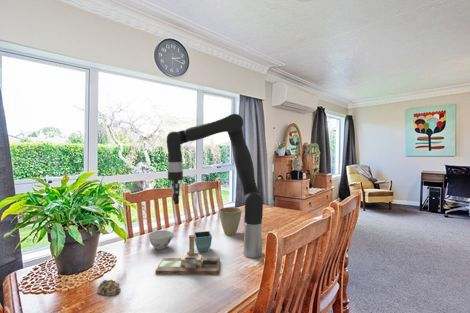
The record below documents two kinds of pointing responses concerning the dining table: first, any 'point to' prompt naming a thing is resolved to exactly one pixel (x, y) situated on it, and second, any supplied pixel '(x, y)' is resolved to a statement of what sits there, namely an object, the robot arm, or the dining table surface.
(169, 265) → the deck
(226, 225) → the plant pot
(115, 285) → the mineral rock
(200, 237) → the flower pot
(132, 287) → the dining table surface
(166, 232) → the grey stone bowl
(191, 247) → the beige post stand
